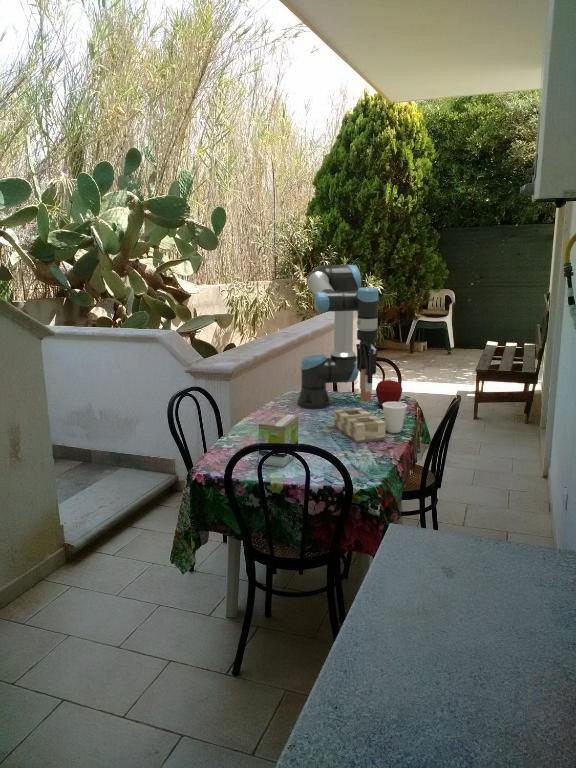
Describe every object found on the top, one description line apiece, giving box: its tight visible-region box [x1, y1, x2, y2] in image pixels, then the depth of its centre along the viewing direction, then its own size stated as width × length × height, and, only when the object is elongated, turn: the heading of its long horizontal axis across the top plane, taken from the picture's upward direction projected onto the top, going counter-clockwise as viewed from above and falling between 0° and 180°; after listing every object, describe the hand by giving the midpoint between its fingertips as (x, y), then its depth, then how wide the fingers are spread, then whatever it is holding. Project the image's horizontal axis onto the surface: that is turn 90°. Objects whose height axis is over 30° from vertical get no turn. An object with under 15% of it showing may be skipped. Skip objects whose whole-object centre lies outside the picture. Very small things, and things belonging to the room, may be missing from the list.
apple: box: [375, 379, 403, 406], centre depth 271 cm, size 12×12×13 cm
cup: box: [381, 401, 408, 434], centre depth 236 cm, size 10×10×11 cm
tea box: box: [258, 412, 299, 468], centre depth 206 cm, size 15×10×15 cm
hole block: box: [333, 407, 386, 444], centre depth 234 cm, size 22×12×7 cm, turn 19°
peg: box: [359, 369, 372, 402], centre depth 225 cm, size 4×4×12 cm
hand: (365, 389), depth 225 cm, fingers closed on peg, 4 cm apart
